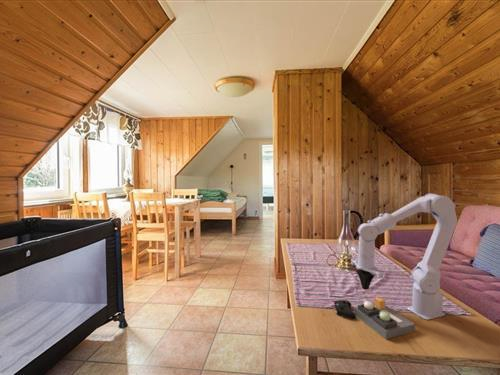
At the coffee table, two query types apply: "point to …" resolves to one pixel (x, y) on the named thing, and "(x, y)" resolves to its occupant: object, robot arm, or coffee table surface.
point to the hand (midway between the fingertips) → (365, 288)
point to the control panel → (385, 329)
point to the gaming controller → (344, 309)
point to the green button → (385, 316)
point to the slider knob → (379, 303)
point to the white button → (368, 305)
